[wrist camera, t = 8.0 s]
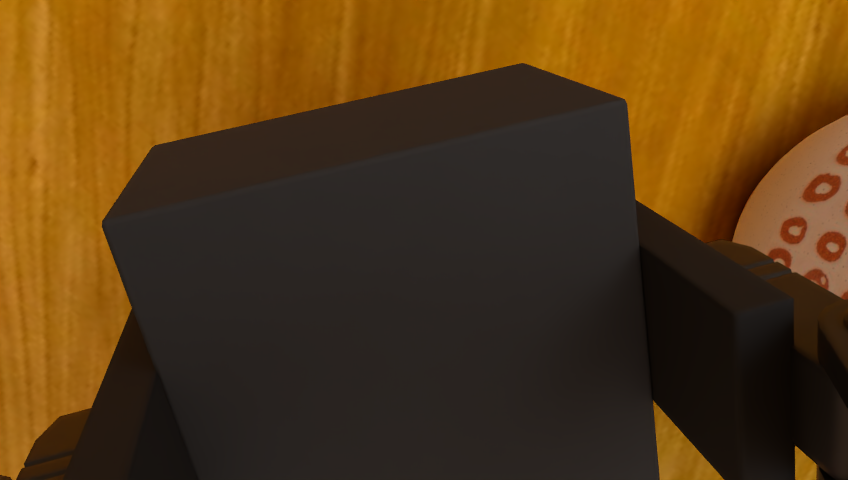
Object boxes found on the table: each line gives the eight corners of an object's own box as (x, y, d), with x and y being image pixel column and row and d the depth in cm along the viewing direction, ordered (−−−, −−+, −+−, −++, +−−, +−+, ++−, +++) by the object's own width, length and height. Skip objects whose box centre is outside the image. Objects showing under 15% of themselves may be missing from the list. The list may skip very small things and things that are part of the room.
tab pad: (288, 562, 17) (294, 750, 13) (150, 145, 13) (98, 222, 9) (581, 477, 18) (674, 628, 14) (525, 61, 14) (629, 97, 10)
